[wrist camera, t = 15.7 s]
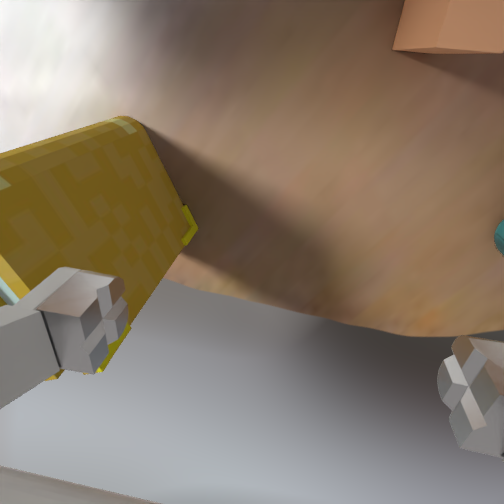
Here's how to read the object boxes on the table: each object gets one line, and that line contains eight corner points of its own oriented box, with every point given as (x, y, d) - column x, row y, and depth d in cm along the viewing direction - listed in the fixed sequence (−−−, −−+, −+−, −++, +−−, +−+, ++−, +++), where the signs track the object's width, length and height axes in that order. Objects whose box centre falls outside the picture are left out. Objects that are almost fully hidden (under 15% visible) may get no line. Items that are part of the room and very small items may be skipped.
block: (433, 53, 32) (502, 53, 21) (392, 49, 33) (435, 47, 21) (454, -11, 30) (546, -54, 18) (408, -15, 30) (469, -59, 18)
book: (198, 228, 47) (102, 371, 26) (159, 240, 49) (40, 381, 28) (137, 107, 40) (-64, 167, 19) (94, 127, 42) (-131, 201, 21)
